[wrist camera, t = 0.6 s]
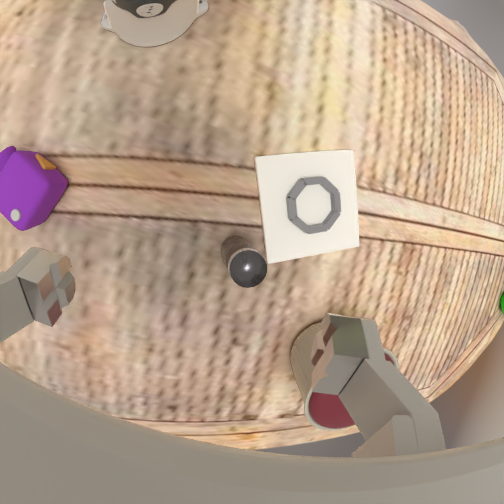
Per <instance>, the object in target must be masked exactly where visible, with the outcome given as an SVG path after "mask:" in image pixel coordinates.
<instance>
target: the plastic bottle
mask: <svg viewBox="0 0 504 504" xmlns="http://www.w3.org/2000/svg"><path fill="white" fill-rule="evenodd" d="M500 304H501V308H502V312H503V314H504V293H503V295H502V297H501V301H500Z"/></svg>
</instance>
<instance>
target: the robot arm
mask: <svg viewBox="0 0 504 504" xmlns="http://www.w3.org/2000/svg"><path fill="white" fill-rule="evenodd" d="M199 2H202V3H199ZM103 5H104V9H105V10H104V13H103V17H102V21H101V25H102V28H103V29H105V30H108V31H112V32H115V33H116V34H117V35H118V36H119V37H120V38H121V39H122V40H124V41H125V42H127V43H129V44H132V45H135V46H141V47H151V46H158V45H162V44H165V43H168V42H170V41H172V40H174V39H176V38H178V37H179V36H181V35H182V34H183V33H184V32H185V31H186V30H187V29H188V28H189V27H190V26H191V24H192V23H193V21H194V20H195V19H196V18H198V17H199V16H201V15H203V14H204V13H206V12H207V11H208V3H207V0H106V1H105V2H104V3H103ZM71 268H72V265H71V261H70V258H68V257H67V256H64V255H61V254H58V253H55V252H52V251H48V250H44V249H41V248H38V247H32V248H30V249H29V250H28V251H27V252H26V253H25V254H24V255H23V256H22V257H21V258H20V259H19V260H17V261H16V262H15V263H14V264H13V265H12V266H11V267H10V268H9V269H8V270H7V271H6V272H3V271H2V272H0V343H1V342H2V341H4V340H5V339H7V338H8V337H10V336H11V335H13V334H15V333H16V332H18V331H19V330H21V329H22V328H24V327H25V326H27V325H29V324H30V323H32V322H33V321H34V320H35V321H38V322H41V323H43V324H46V325H49V326H51V327H53V325H54V324H55V322H56V321H57V320H58V318H59V317H60V316H61V314H62V307H65V306H67V305H69V303H70V302H71V300H72V299H73V296H74V293H75V279H74V277H73V276H72V274H71V273H70V270H71ZM311 362H312V364H313V365H314V366H315V368H314V370H313V372H312V392H317V393H325V394H333V395H339V396H338V397H339V398H340V400H341V402H342V403H343V405H344V406H345V408H346V410H347V411H348V413H349V414H350V416H351V418H352V419H353V421H354V422H355V424H356V426H357V427H358V429H359V430H360V432H361V434H362V435H363V437H364V438H365V440H366V442H365V443H364V444H363V445H362V446H360V447H359V448H358V449H357V450H355V451H354V452H353V453H352V457H349V458H348V457H311V456H298V455H285V454H276V453H267V452H258V451H252V450H245V449H239V448H233V447H227V446H222V445H216V444H211V443H207V442H202V441H197V440H193V439H189V438H185V437H180V436H177V435H173V434H169V433H165V432H162V431H158V430H155V429H151V428H148V427H145V426H141V425H138V424H135V423H132V422H129V421H126V420H123V419H120V418H117V417H115V416H112V415H109V414H106V413H104V412H101V411H99V410H96V409H93V408H91V407H89V406H86V405H84V404H81V403H79V402H77V401H74V400H72V399H70V398H67V397H65V396H63V395H61V394H59V393H57V392H54V391H52V390H50V389H48V388H46V387H44V386H42V385H40V384H38V383H36V382H34V381H32V380H31V379H29V378H27V377H25V376H23V375H21V374H20V373H18V372H16V371H14V370H12V369H11V368H9V367H7V366H6V365H4V364H2V363H1V362H0V504H504V437H503V438H499V439H496V440H492V441H488V442H483V443H479V444H475V445H469V446H465V447H459V448H454V449H449V450H446V447H445V442H444V437H443V433H442V428H441V424H440V420H439V416H438V413H437V411H436V410H435V409H434V408H433V407H432V406H431V405H430V404H429V403H428V402H427V400H426V399H425V398H424V397H423V396H422V395H421V394H420V393H419V392H418V391H417V390H416V388H415V387H414V386H413V385H412V384H411V383H410V382H409V381H408V380H407V379H406V378H405V377H404V375H403V374H402V373H401V372H400V371H399V370H398V369H397V368H396V367H395V366H394V365H393V364H392V363H391V362H390V361H386V359H385V355H384V351H383V347H382V343H381V339H380V335H379V331H378V328H377V324H376V321H375V320H374V319H367V318H357V317H351V316H344V315H337V314H331V313H326V315H325V316H324V318H323V320H322V330H320V331H319V332H317V333H316V336H315V338H314V341H313V345H312V350H311Z"/></svg>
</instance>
